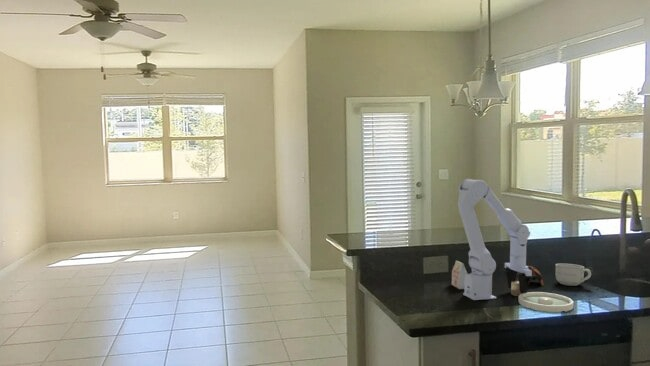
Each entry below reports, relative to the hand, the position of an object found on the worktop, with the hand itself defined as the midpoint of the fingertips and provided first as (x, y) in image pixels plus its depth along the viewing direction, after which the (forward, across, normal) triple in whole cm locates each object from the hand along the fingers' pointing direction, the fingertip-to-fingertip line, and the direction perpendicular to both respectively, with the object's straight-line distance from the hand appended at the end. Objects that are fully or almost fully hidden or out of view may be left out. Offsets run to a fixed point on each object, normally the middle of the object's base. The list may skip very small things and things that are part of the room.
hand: (517, 290), depth 198 cm
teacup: (+2, +7, -30) cm, 31 cm away
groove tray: (+1, -14, -2) cm, 14 cm away
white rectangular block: (+2, +15, +16) cm, 22 cm away
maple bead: (+2, 0, 0) cm, 2 cm away
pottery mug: (+2, +13, -15) cm, 20 cm away
